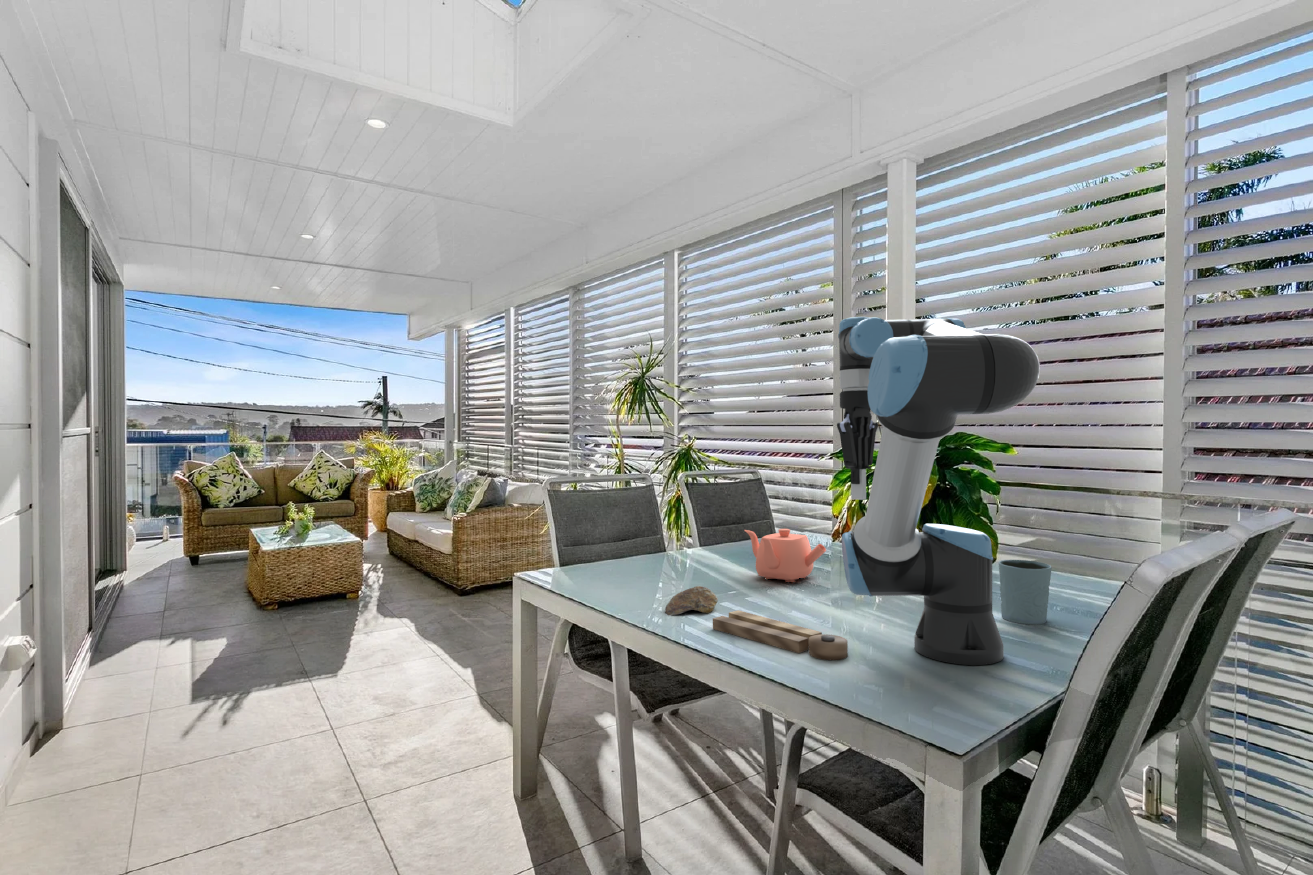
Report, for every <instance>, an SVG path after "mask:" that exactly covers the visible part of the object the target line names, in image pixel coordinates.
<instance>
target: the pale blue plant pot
mask: <svg viewBox="0 0 1313 875" xmlns="http://www.w3.org/2000/svg"><path fill="white" fill-rule="evenodd" d="M998 571H999V572H998V573H999V575H998V576H999V584H1000V586H999V592H1000V593H999V594H1000V595H999V596H1000V601H1001V603H1000V611H1001V618H1002V619H1004V620H1006V621H1008V622H1011V623H1015V624H1016V623H1017V624H1021V625H1022V624H1023V625H1041V624H1045V623H1046V622H1047V617H1048V607H1049V605H1048V604H1049V597H1050V584H1051V583H1050V582H1051V576H1052V566H1051V564H1048V563H1045V562H1040V561H1036V560H1026V559H1003V560H999V561H998Z"/></svg>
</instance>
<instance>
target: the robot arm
mask: <svg viewBox="0 0 1313 875" xmlns="http://www.w3.org/2000/svg"><path fill="white" fill-rule="evenodd" d="M838 325H839V327H838V328H839V329H838V334H837V338H838V348H839V350H838V351H839V355H838V356H839V389H841V390H842V391H840V392H839V408H840V409H842V410H843V409H844V414H843V420H842V421H841V422H840V421H838V422H837V423H836V427H837V431H838V432H839V440H840V445H841V452H842V458H843V460H842V461H843V466H844V467H845V469H847V470H848V469H849V470H850V485H851V486H850V487H851V489H850V490H851V492H850V494H851V495H850V496H851V500H861V501H864V500H867V470H870V469H872V465H873V461H874V460H873V459H874V450H875V444H876V443H875V442H876V436H877V434H876V433H877V430H878V428H879V424H880V426H882V431H881V437H880V442H879V447H878V452H877V457H876V463H875V467H874V472H873V478H872V483H871V487H870V492H869V497H868V504H867V508H866V513H865V515H864V516H863V517H861V518H860V519H859V520H857V522H856V524H855V526H854V529H853V531H848V532H847V531H846V532H844V533H843V534H842V535H841V553H842V560H843V561H842V562H843V567H844V574H845V579H846V584H847V586H848V590H849V591H850V592H851V593H852V594H853V595H858V596H868V597H878V596H879V597H880V596H881V597H886V596H887V597H888V596H889V597H891V596H892V597H893V596H894V597H898V596H899V597H901V596H902V597H903V596H904V597H906V596H908V597H911V596H912V597H913V596H914V597H915V596H916V597H917V596H919V597H922V596H923V610H922V612H921V616H920V618H919V621H918V625H917V627H916V630H915V634H914V644H913V646H914V649H915V651H916V652H917V653H918V654H920V655H922V656H924V657H927V658H929V659H933V660H936V661H939V662H944V663H949V664H954V665H967V666H983V665H992V664H996V663H999V662H1001V661H1002V660H1003V659H1004V657H1005V656H1004V654H1005V653H1004V642H1003V639H1002V637H1001V634H1000V632H999V631H1000V630H999V628H998V626H997V623H996V620H995V617H994V614H993V561H994V557H993V549H992V541H991V538H990V536H988V534H986V533H985V532H982V531H980V530H975V529H973V528H966V527H961V526H956V525H949V524H942V523H941V524H940V523H925V524H923V527H922V529H921V530H922V531H921V532H919V529H917V526H918V522H919V518H920V515H921V511H922V508H923V503H924V499H925V495H926V491H927V489H928V485H929V480H930V478H931V474H932V469H933V466H934V462H935V459H936V454H937V451H938V447H939V443H940V439H942V438H944V437H946V436H948V435H949V434H951V432H952V430H953V429H954V428H955V424H956V421H957V417H958V416H959V415H961V416H962V415H988V414H996V413H1000V412H1003V411H1006V410H1009V409H1011V408H1013V407H1016V405H1018V404H1020V403H1021V402H1023V401H1024V400H1025V399H1026V398H1028V396H1029V395H1031V393H1032V392H1033V390H1034V388H1035V387H1036V385H1037V383H1038V380H1039V378H1040V371H1041V368H1040V367H1041V366H1040V360H1039V356H1038V355H1037V352H1036V351H1035V350H1034V349H1033V347H1032V346H1031V345H1030V344H1029V343H1028V342H1026V341H1025V340H1023V339H1021V338H1019V337H1016V336H1013V335H1009V334H1006V333H992V334H989V333H988V334H987V333H986V334H983V333H980V332H977V331H974V330H971V329H967V328H966V325H965V324H964V321H963V320H962V319H959V318H950V317H941V318H924V319H923V318H922V319H919V318H918V319H883V318H880V317H876V316H873V317H869V316H854V317H847V318H844V319H842V320H841V321H840V322H839V324H838ZM872 413H873V414H874V415H875V418H876V419H877V421H878V422H875V421H873V420H872V418H873V417H872Z"/></svg>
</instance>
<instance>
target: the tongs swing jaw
mask: <svg viewBox="0 0 1313 875" xmlns="http://www.w3.org/2000/svg"><path fill="white" fill-rule="evenodd" d="M728 617H729V618H733V619H737V620H741V621H745V622H748V623H752V624H756V625H760V626H764V627H768V628H771V629H775V630H779V631H783V632H787V633H791V634H795V635H798V636H802V637H806V638H808V647H809V637H811V636H814V635H821V634H823V633H822V631H819V630H815V629H811V628H808V627H807V628H806V627H804V626H800V625H796V624H792V623H788V622H785V621H780V620H777V619H773V618H769V617H765V616H761V615H758V614H753V613H750V612H747V611H743V610H734V611H731V612H728Z"/></svg>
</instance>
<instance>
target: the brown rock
mask: <svg viewBox="0 0 1313 875" xmlns="http://www.w3.org/2000/svg"><path fill="white" fill-rule="evenodd" d="M718 602H719V598H718V596H717V595H716V594H715V593H714V592H713V591H712V590H711V589H709V588H708V587H705V586H701V585H697V586H694V587H691V588H688V589H685V590H683V591H680V592H678V593H676V594H675V595H673V596H672V597H671V598H670V600H669V601H668V603H667V604H666V606H665V608H664V611H665V614H667V616H675V615H680V614H683V613H686V612H688V611H691V610H694V611H698V612H701V613H703V614H705V613H706V614H708V613H711V612H712V611H714V609H715V607H716V605H717V604H718Z"/></svg>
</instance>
